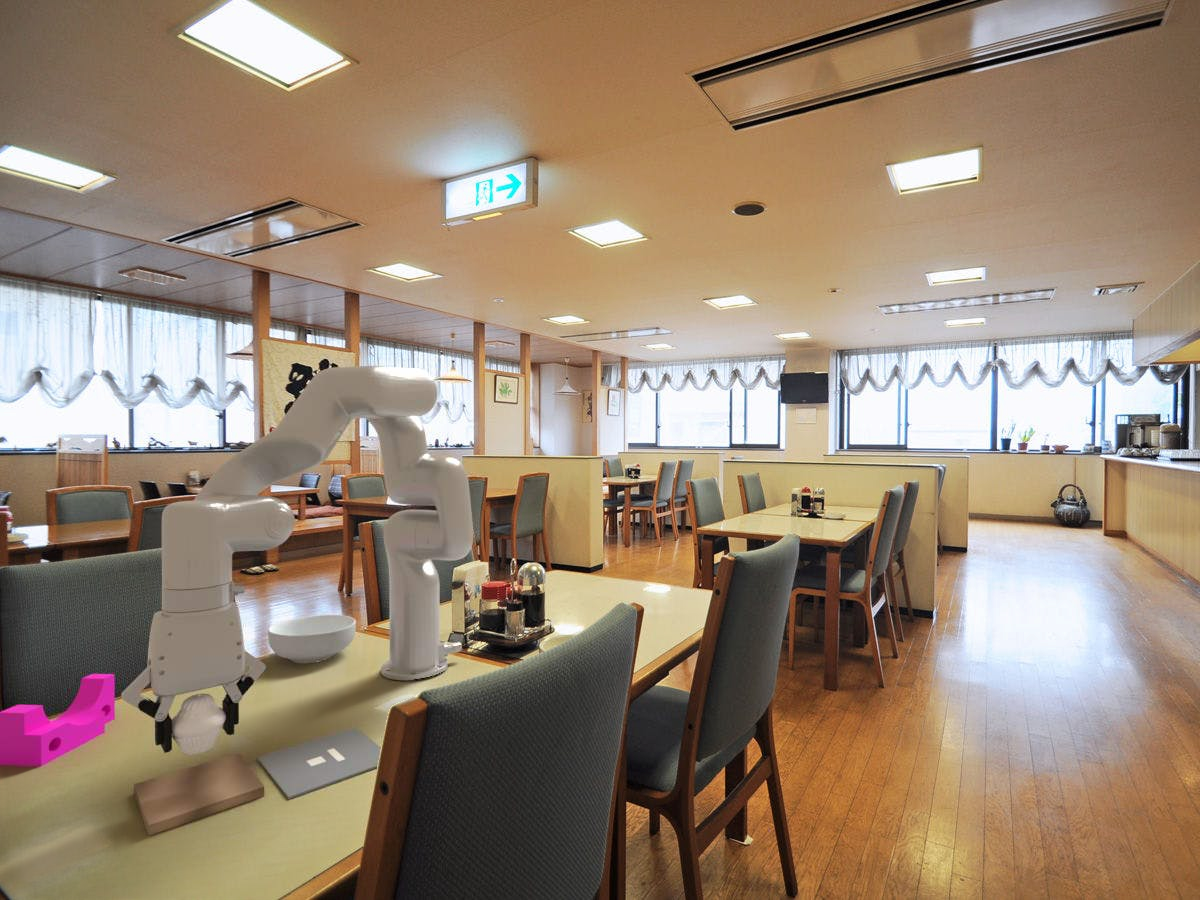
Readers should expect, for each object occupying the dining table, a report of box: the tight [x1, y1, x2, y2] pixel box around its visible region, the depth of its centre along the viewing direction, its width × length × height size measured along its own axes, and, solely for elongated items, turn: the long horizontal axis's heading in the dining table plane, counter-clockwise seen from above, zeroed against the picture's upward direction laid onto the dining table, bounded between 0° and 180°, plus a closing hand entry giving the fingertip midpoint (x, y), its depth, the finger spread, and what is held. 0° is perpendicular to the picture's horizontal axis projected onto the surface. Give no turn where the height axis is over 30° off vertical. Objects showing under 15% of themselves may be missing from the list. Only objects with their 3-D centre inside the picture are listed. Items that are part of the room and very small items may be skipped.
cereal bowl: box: [267, 614, 357, 664], centre depth 133 cm, size 17×17×7 cm
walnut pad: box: [133, 752, 265, 836], centre depth 80 cm, size 12×12×1 cm
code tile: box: [256, 727, 382, 800], centre depth 89 cm, size 14×14×1 cm
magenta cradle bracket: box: [0, 673, 116, 767], centre depth 95 cm, size 15×6×8 cm, turn 176°
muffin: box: [171, 692, 226, 755], centre depth 80 cm, size 6×6×7 cm
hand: (198, 738), depth 80 cm, fingers closed on muffin, 6 cm apart
